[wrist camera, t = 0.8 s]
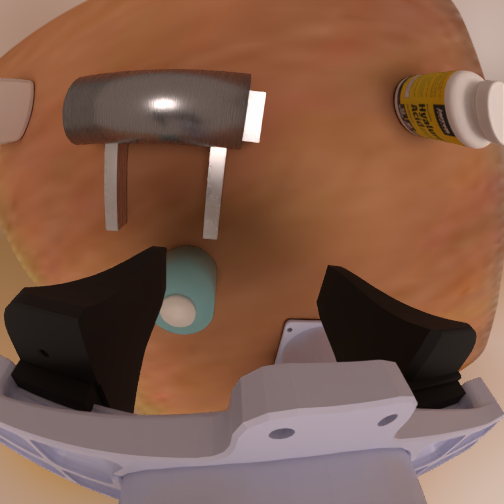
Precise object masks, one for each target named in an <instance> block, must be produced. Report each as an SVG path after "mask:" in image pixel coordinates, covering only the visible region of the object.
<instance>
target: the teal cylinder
mask: <svg viewBox="0 0 504 504" xmlns="http://www.w3.org/2000/svg"><path fill="white" fill-rule="evenodd" d="M216 281H217V268H216V265H215V262H214V261H213V259H212V258H211V257H210V255H209V254H207V253H206V252H205V251H203V250H202V249H199V248H197V247H194V246H179V247H176V248H174V249H172V250H170V251H169V252H168V253H167V254H166V292H165V296H164V300H163V304H162V307H161V310H160V312H159V315H158V317H157V320H156V322H155V323H156V324H157V325H158V326H159V327H161V328H162V329H164V330H166V331H169V332H172V333H175V334H193V333H196V332H199V331H201V330H203V329H204V328H205V327H207V326H208V325H209V323H210V322H211V320H212V318H213V314H214V304H215V292H216Z"/></svg>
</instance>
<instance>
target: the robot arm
mask: <svg viewBox="0 0 504 504" xmlns="http://www.w3.org/2000/svg"><path fill="white" fill-rule="evenodd" d="M166 253H167V248H165V247H156V246H152V247H150V248H148V249H146V250H144V251H142V252H141V253H139V254H137V255H135V256H134V257H132V258H130V259H128V260H126V261H124V262H122V263H120V264H118V265H116V266H114V267H113V268H110V269H108V270H106V271H104V272H101V273H98V274H96V275H93V276H90V277H87V278H83V279H79V280H76V281H72V282H68V283H63V284H57V285H51V286H40V287H25V288H23V289H22V290H21V291H20V293H19V294H18V295H17V296H16V297H15V298H14V299H13V300H12V301H11V303H10V304H9V305H8V306H7V307H6V308H5V312H4V320H5V326H6V329H7V332H8V334H9V336H10V339H11V341H12V343H13V345H14V347H15V349H16V351H17V353H18V355H19V357H20V361H19V362H18V364H17V365H15V364H14V363H13V362H12V361H11V360H9V359H8V358H5V357H3V356H1V355H0V442H1V443H2V444H4V445H5V446H7V447H8V448H10V449H12V450H13V451H15V452H17V453H18V454H20V455H22V456H23V457H25V458H27V459H29V460H30V461H32V462H34V463H36V464H38V465H39V466H41V467H43V468H45V469H47V470H49V471H51V472H53V473H55V474H57V475H59V476H61V477H63V478H65V479H67V480H70V481H71V482H74V483H76V484H78V485H80V486H83V487H85V488H88V489H90V490H93V491H96V492H98V493H101V494H104V495H107V496H110V497H112V498H115V499H119V504H427V502H426V499H425V496H424V494H423V491H422V488H421V485H420V483H419V480H418V476H420V475H422V474H424V473H426V472H428V471H430V470H432V469H434V468H436V467H438V466H440V465H442V464H443V463H445V462H447V461H449V460H450V459H452V458H454V457H456V456H458V455H460V454H461V453H463V452H465V451H466V450H468V449H470V448H471V447H472V446H473V445H474V444H475V443H477V441H479V440H480V439H481V438H482V437H483V436H484V435H485V434H486V433H488V432H489V431H490V430H491V429H492V428H493V427H494V426H495V425H496V424H497V423H498V422H499V421H500V420H501V419H502V418H503V417H504V412H503V411H502V409H501V407H500V406H499V404H498V403H497V401H496V400H495V398H494V397H493V395H492V394H491V392H490V391H489V389H488V388H487V386H486V385H485V383H484V382H483V380H482V379H481V378H480V377H479V378H476V379H473V380H470V381H467V382H466V383H464V384H463V385H462V386H461V385H460V383H459V382H458V380H459V379H461V375H460V373H459V372H458V370H459V369H460V367H461V366H462V365H463V363H464V362H465V360H466V359H467V357H468V356H469V355H470V353H471V351H472V349H473V347H474V345H475V342H476V332H475V331H474V329H473V328H472V327H471V326H470V325H469V324H467V323H463V322H458V321H453V320H449V319H444V318H441V317H438V316H434V315H431V314H428V313H425V312H423V311H420V310H418V309H415V308H413V307H410V306H408V305H406V304H404V303H402V302H400V301H398V300H396V299H394V298H392V297H390V296H388V295H387V294H385V293H383V292H382V291H380V290H378V289H377V288H375V287H374V286H372V285H370V284H369V283H367V282H366V281H364V280H363V279H361V278H360V277H358V276H356V275H355V274H353V273H352V272H350V271H348V270H347V269H345V268H343V267H340V266H331V265H328V267H327V270H326V274H325V277H324V280H323V284H322V287H321V290H320V293H319V296H318V299H317V306H318V311H319V316H320V320H288V321H287V322H286V323H285V326H284V330H283V334H282V337H281V341H280V345H279V348H278V352H277V356H276V359H275V363H274V365H267V366H262V367H260V368H258V369H256V370H254V371H252V372H250V373H248V374H246V375H244V376H242V377H241V378H240V379H239V381H238V382H237V384H236V385H235V387H234V388H233V389H232V391H231V397H230V403H229V406H228V408H227V410H226V411H218V412H207V413H193V414H173V415H137V414H133V413H134V405H135V399H136V392H137V386H138V381H139V375H140V370H141V366H142V361H143V357H144V353H145V349H146V346H147V343H148V340H149V338H150V335H151V333H152V330H153V327H154V325H155V322H156V320H157V317H158V315H159V312H160V310H161V307H162V304H163V300H164V296H165V292H166ZM289 328H291V329H289ZM288 329H289V330H288Z"/></svg>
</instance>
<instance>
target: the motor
mask: <svg viewBox="0 0 504 504" xmlns="http://www.w3.org/2000/svg"><path fill="white" fill-rule="evenodd" d="M250 83H251V74H246V73H236V72H226V71H212V70H189V69H159V70H137V71H124V72H113V73H105V74H97V75H90V76H84V77H80V78H78V79H76V80H75V81H74V82H73V83H72V85H71V86H70V88H69V90H68V92H67V94H66V97H65V100H64V105H63V126H64V130H65V133H66V136H67V137H68V139H69V140H70V141H71V142H72V143H73V144H75V145H84V144H105V163H104V195H105V220H106V230H111V231H118V230H119V229H120V228H121V227H122V226H123V225H124V224H125V223H126V222H127V198H126V192H127V154H128V143H148V144H177V145H195V146H209V147H211V150H210V159H209V169H208V180H207V191H206V202H205V215H204V228H203V238H204V239H215V240H217V236H218V228H219V218H220V208H221V198H222V188H223V179H224V170H225V161H226V152H227V148H231V149H241V145H242V141H249V142H257V143H259V138H260V131H261V124H262V117H263V110H264V103H265V96H266V93H264V92H257V91H250Z"/></svg>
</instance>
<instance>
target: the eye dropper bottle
mask: <svg viewBox="0 0 504 504" xmlns="http://www.w3.org/2000/svg"><path fill="white" fill-rule="evenodd" d="M33 98H34V84H33V82H32V81H30V80H23V79H9V78H0V145H2V144H6V143H10V142H15V141H18V140H20V138H21V137H22V136H23V134H24V132H25V129H26V127H27V124H28V121H29V118H30V115H31V111H32V106H33Z"/></svg>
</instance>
